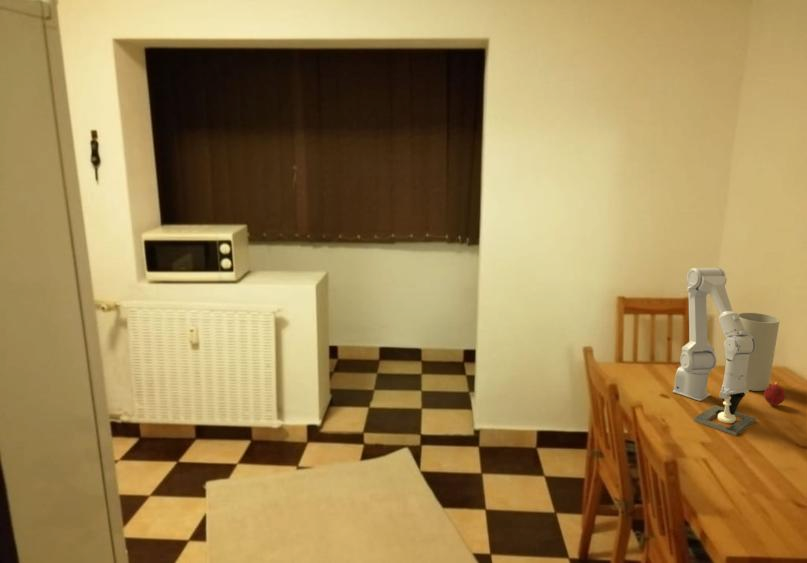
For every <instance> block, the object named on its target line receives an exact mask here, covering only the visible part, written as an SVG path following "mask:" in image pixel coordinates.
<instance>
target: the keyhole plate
mask: <svg viewBox="0 0 807 563" xmlns="http://www.w3.org/2000/svg"><path fill="white" fill-rule="evenodd" d="M721 412H724V406H719V405H716V404H714V405H713V406H711V407H709V408H708V409H707V410H704V411H703V412H701V413H700V414H698V415H696V416H695V417H694V419H693V421H694V422H696V423H699V424H702V425H705V426H708V427H710V428H713V429H716V430H719V431H721V432H724V433H728V434H730V435H732V436H735V437H737V436H738V435H739V434H740V433H742V432H743V431H744V430H746V429H747V428H749V427H750V426H751V425H753V424H754V423H755V422H756V420H757V418H756V417H753V416H750V415H747V414H744V413H741V412H738V411H736V412H735V414H734V415H735V417H737V418H739V419H741V420H736V421H735V422H733V424H732V425H730V426H725V425H722V424H720V423H716V422H714V421H712V419H713V418H716V416H717V415H718V414H719V413H721Z"/></svg>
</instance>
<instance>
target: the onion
mask: <svg viewBox="0 0 807 563" xmlns="http://www.w3.org/2000/svg"><path fill="white" fill-rule="evenodd" d="M763 397H764V399H765V401H766V402H767V403H768V404H770V405H771V406H776V405H779V404H782V403H783V402H784V401H785V400H786V392H785V390H784V388H782V387H781V386H780V385H779V383H778V382H774V384H772V385H769V387H767V388H766V389H765V390H764V392H763Z"/></svg>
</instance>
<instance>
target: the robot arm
mask: <svg viewBox="0 0 807 563" xmlns="http://www.w3.org/2000/svg"><path fill="white" fill-rule="evenodd" d="M727 280H728V279H727V277H726V272H725V270H724V269H723V268H722V267H692V268H690V269H689V271H687V273H686V292H687V293H688V295H687V296H688V326H689V327H688V328H689V331H688V332H689V337H688V338H689V341H688V342H687V343H686V344H685V345H683V346H682V347H681V354H680V357H679V361H680V362H679V363H680V366H679V367H678V368H677V370H676V371H675V375H674V376H675V377H674V383H673V384H674V385H673V390H672V393H675V394H677V395H679V396H683V397H686V398H689V399H692V400H695V401H699V402H701V401H704V400H706V399H707V398H709V397H710V396H711V393H709V392H707V389H708V380H709V374H710V373H711V372H712V370H713V369H715V367H716V365H717V356H716V355H715V347H714V346H713V345H712V344H709V343H708V324H707V322H708V320H707V319H708V317H707V316H708V315H707V312H708V311H707V296H708V295H710V297H711V299H712V301H713V303H714V305H715V307H716V309H717V311H718V312H719V314H720V315H719V317H718V319H717V320H718V322H719V326H720V328H721V331H722V332H723V335H724V339H725V340H724V341H723V347H724V351H725V353H724V356H725V358H726V360H725V368H724V375H723V381H722V384H721V390H720V391H719V395H718V396H719V397H718V398H720V399H722V403H723V402H724V401H725V399H727V397H728V396H729V395H730V396H731V399H730V401H729V402H731V405H729V410H730V413H731V414H732V415H733V414H735V412H737V409H738V407H739V404H740V403H741V401H742V400H743V398H744V397H745V396H746V394H747V393H749V392H750V390H748V389H745V387H746V374H747V367H748V360H749V354H751V353H753V352H754V350H755V347H756V345H755V341H754V338H753V337H752V336H751V335H749V333H748V332H746V331H745V329H744V327H743V324H742V322H741V320H740V317H739V315H738V314H739V313H737V312H735V311H733V308H732V306H731V301H730V299H729V296H728V293H727V289H726V284H727ZM723 408H724V409H725V405H724V404H723Z"/></svg>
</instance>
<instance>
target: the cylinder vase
mask: <svg viewBox="0 0 807 563" xmlns="http://www.w3.org/2000/svg"><path fill="white" fill-rule="evenodd" d="M737 314H738V315H739V317H740V320H741V322H742V324H743V327H744V329H745V331H746V332H748V333H749V335H751V336H752V337H753V338H754V341H755V345H756V347H755V350H754V352H753V353H751V354H749V360H748V367H747V374H746V387H745V389H748V390H749V391H750V390H751V391H752V392H763V391H765V389H766V388H767V387H769V386H770V381H771V375H772V371H773V369H772V368H773V363H774V358H775V351H776V345H777V338H778V333H779V327H780V326H779V325H780V319H779V318H777V317H776V316H772V315H769V314H765V313H759V312H757V313H756V312H739V313H737Z"/></svg>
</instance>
